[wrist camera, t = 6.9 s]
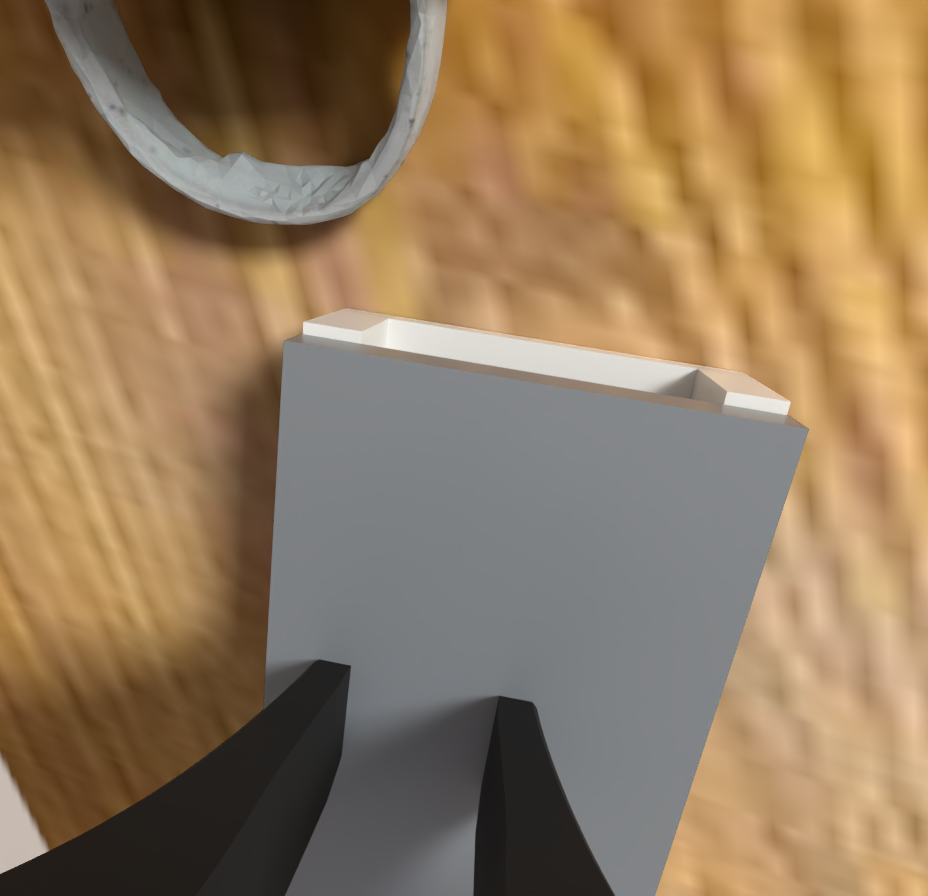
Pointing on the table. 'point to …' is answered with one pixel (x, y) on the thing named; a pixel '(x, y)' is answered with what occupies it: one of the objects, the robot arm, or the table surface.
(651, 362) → the cable duct
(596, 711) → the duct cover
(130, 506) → the table surface
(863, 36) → the table surface
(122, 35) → the ceramic mug
